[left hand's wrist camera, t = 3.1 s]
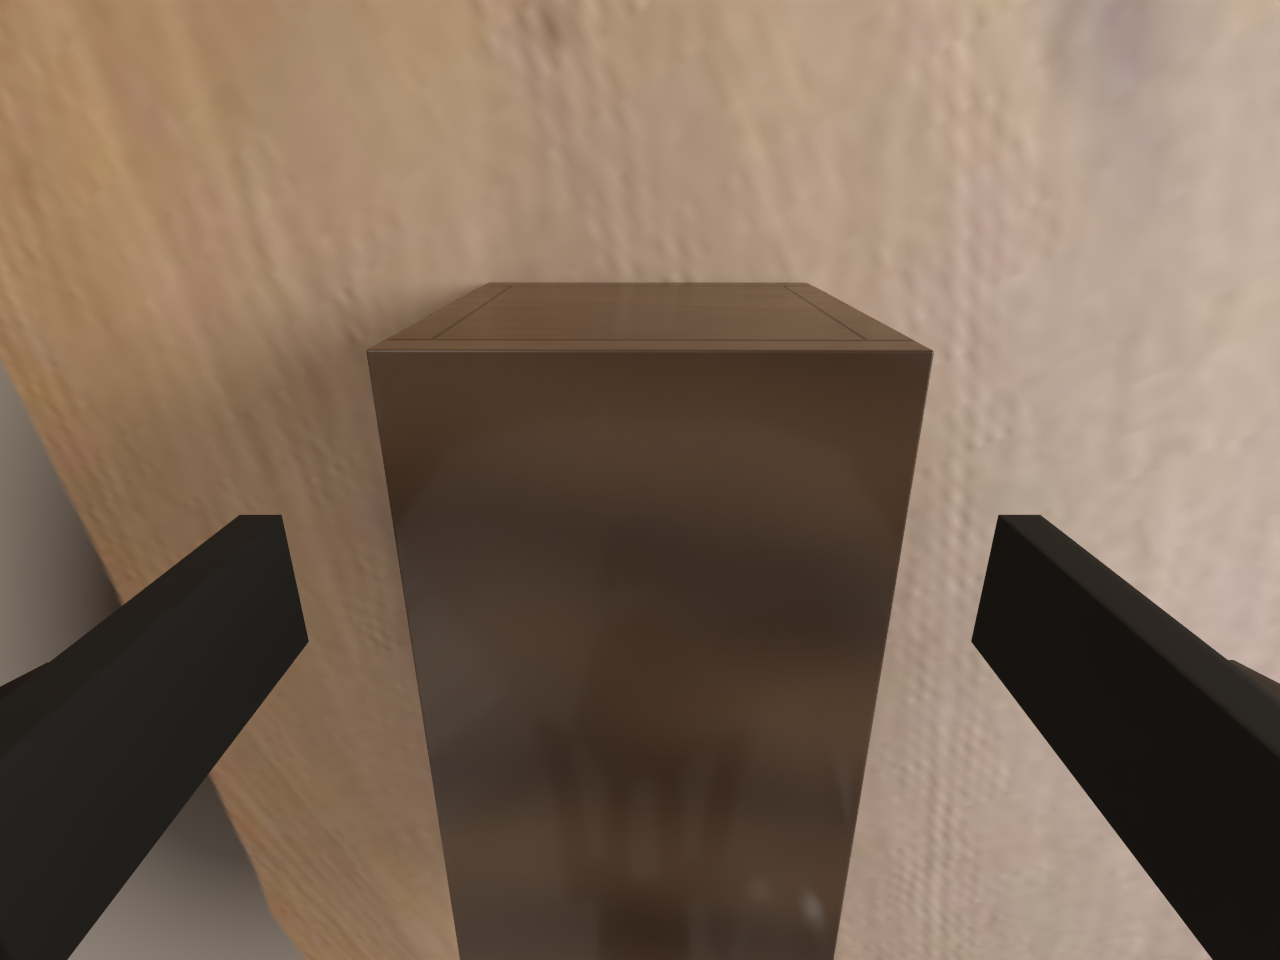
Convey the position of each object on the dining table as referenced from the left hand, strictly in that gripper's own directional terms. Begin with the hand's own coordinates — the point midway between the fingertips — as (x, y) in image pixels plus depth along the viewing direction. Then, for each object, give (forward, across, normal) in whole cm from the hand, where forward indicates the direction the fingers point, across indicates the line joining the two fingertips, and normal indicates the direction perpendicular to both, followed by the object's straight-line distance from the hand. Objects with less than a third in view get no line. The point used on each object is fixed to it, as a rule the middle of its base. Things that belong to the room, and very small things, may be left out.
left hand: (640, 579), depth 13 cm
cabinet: (+12, 0, -6) cm, 13 cm away
